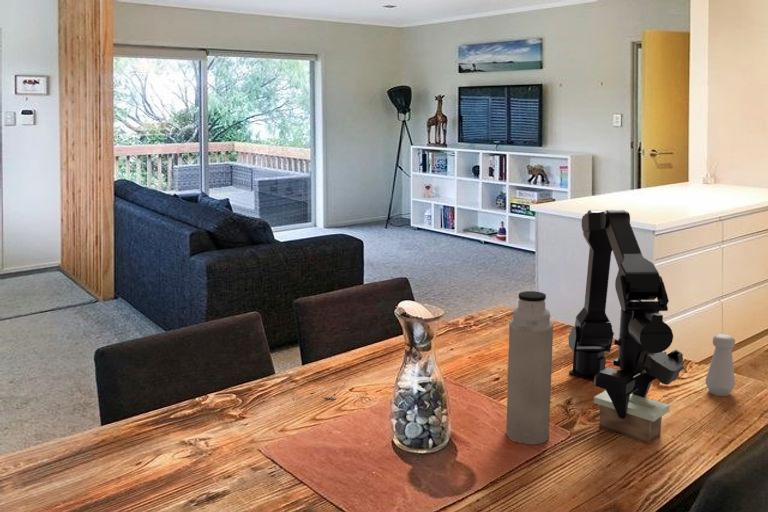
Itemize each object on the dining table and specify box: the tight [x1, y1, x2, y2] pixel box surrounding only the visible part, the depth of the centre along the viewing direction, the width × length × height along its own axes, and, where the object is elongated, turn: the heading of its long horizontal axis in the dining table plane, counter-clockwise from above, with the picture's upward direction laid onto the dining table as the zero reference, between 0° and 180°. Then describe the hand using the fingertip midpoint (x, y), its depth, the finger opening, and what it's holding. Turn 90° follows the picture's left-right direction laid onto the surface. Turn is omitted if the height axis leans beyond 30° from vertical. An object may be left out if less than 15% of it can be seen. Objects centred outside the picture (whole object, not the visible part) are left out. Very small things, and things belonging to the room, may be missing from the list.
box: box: [598, 405, 663, 445], centre depth 133 cm, size 10×5×5 cm, turn 44°
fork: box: [321, 395, 336, 400], centre depth 155 cm, size 3×16×2 cm, turn 166°
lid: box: [593, 390, 670, 422], centre depth 132 cm, size 12×6×2 cm, turn 44°
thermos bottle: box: [506, 290, 554, 445], centre depth 130 cm, size 8×8×28 cm
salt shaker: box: [705, 333, 736, 397], centre depth 150 cm, size 6×6×13 cm
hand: (630, 412), depth 133 cm, fingers closed on lid, 6 cm apart
